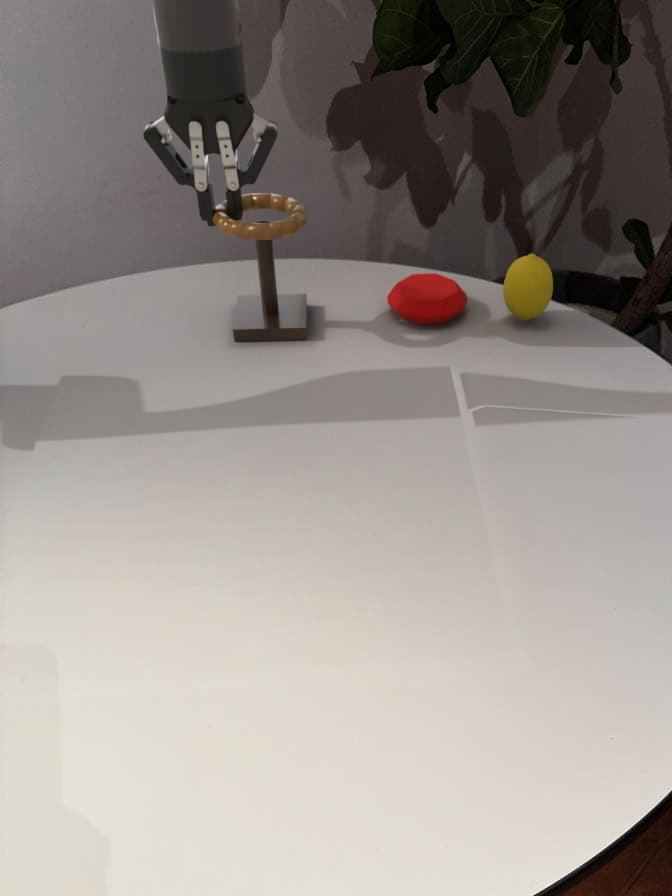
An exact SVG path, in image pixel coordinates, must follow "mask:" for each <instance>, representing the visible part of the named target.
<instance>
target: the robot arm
mask: <svg viewBox="0 0 672 896" xmlns="http://www.w3.org/2000/svg"><path fill="white" fill-rule="evenodd" d="M152 10H153V19H154V24H155V30H156V31H155V32H156V38H157V45H158V50H159V58H160V63H161V68H162V69H161V71H162V76H163V82H164V90H165V95H166V104H165V108H164V110H163V116H162V117H160V118H158V119H157V120H156V121H149V122H148V123H147V124H146V126H145V129H144V131H143V134H142V136H143V139H144V141H145V142H146V143H147V145H148V146H149V148H150V149H151V150H152V151H153V153H154V154H155V155H156V157H157V158H158V159H159V160H160V162H161V163H162V165H163V166H164V167H165V168H166V170H167V171H168V172H169V174H170V175H171V176H172V178H173V179H174V181H175V182H176V183H177V184H178V185H180V186H185V185H186V186H189V187H192V188H193V189H194V190H195V192H196V198H197V204H198V205H197V206H198V212H199V217H200V219H201V220H202V222H206V223H207V227H216V226H215V224H214V222H213V216H214V211H215V208H216V206H215V199H214V198H215V197H214V191H213V184H212V183H210V172H209V171H210V170H209V155H211V154H216V155H220V157H221V164H222V167H223V172H224V176H225V182H226V187H225V199H226V200H227V207H228V215H229V217H230V218H232V219H233V220H237V221H241V220H242V218H243V214H244V211H243V204H242V195H243V194H242V187H244V186H247V185H249V186H251V185H254V184H256V182H257V180H258V178H259V176H260V173H261V171H262V170H263V168H264V165H265V164H266V162H267V160H268V157H269V155H270V153H271V151H272V149H273V147H274V145H275V143H276V141H277V138H278V134H279V133H278V131H279V130H278V129H279V126H278V124H277V122H276V121H274V120H269V121H267V120H265V119H264V118H262V117H260V116H259V115H257V114H255V110H254V106H253V105H252V103H251V102H250V100H249V97H248V91H247V82H246V71H245V61H244V52H243V40H242V31H243V30H242V23H241V20H240V12H239V5H238V0H152ZM250 128H252V130H253V135H252V138H253V139H252V140H253V141H254V142H255V143H256V144H255V146H254V149H253V151H252V153H251V155H250V157H249V159H248V161H247V164H246V165H245V166H243V167H241V168H240V166H239V159H238V156H239V155H238V150H237V149H238V148H239V146H240V144H241V143H242V141H243V139H244V137H245V136H246V135H247V133H248V131H249V129H250ZM170 129H171V130H172V131H173V133H174V134H176V136H177V137H178V138H179V139H180V140H181V141H182V143H183V144H184V145H185V146H186V147H187V149H188V150H190V153H191V164H192V168H191V167H190V166H189V165H188V164H187V162H186V161H185V159H184V158H183V157H182V156H181V154H180V153H179V151H178V150H177V149H176V147H175V146H174V145H173V144H172V142H171V141H172V133H171V131H170Z"/></svg>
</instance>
